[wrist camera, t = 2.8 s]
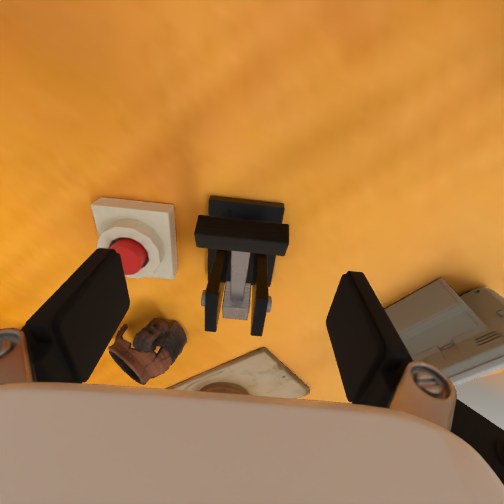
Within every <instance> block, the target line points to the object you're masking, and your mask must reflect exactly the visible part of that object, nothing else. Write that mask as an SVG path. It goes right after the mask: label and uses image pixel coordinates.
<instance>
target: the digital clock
mask: <svg viewBox="0 0 504 504" xmlns="http://www.w3.org/2000/svg"><path fill="white" fill-rule="evenodd" d="M385 311H386V313H387V315H388V317H389V318H390V320H391V322H392V324H393V325H394V327H395V329H396V331H397V333H398V334H399V336H400V338H401V340H402V341H403V343H404V345H405V347H406V349H407V350H408V352H409V354H410V356H411V357H412V359H413V361H422V362H426V363H429V364H431V365H433V366H435V367H436V368H438V369H439V370H441V371H442V372H443V373H444V374H445V375H446V376H447V377H448V378H449V379H450V380H451V382H452V383H453V384H454V387H455V386H457V385H460V384H462V383H465V382H468V381H470V380H473V379H476V378H478V377H481V376H483V375H486V374H489V373H491V372H494V371H497V370H499V369H502V368H504V298H503V297H502V296H500V295H499V294H498V293H496V292H495V291H493V290H492V289H489V288H484V287H480V288H476V289H474V290H472V291H470V292H468V293H466V294H464V295H462V296H460V297H459V296H458V295H457V294H456V292H455V291H454V290H453V289H452V288H451V287H450V286H449V285H448V284H447V283H446V282H445V281H444V279H443V278H439V279H438V280H436V281H434V282H432V283H431V284H429V285H427V286H425V287H423V288H422V289H420V290H418V291H416V292H414V293H413V294H411V295H409V296H407V297H406V298H404V299H402V300H400V301H398V302H397V303H395V304H393V305H391V306H390V307H388V308H386V309H385Z"/></svg>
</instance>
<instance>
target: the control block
mask: <svg viewBox="0 0 504 504" xmlns="http://www.w3.org/2000/svg"><path fill="white" fill-rule="evenodd" d="M91 208H92V212H93V216H94V220H95V224H96V228H97V232H98V236H99V240H98V242H97V248H108V249H110V248H111V246H112V245H113V244H114V243H115V242H116V241H117V240H119V239H122V238H130V239H133V240H136V241H137V242H139V243H140V244H141V245H142V246H143V247H144V248H145V250H146V252H147V259H146V261H145V263H144V264H143V266H142V267H141V269H140V270H139V271H138V272H137V273H135V274H133V275H125V277H130V278H140V279H141V278H144V277H153V278H163V279H174V277H175V275H176V273H177V270H178V258H177V243H176V228H175V212H174V205H172V204H163V203H153V202H144V201H134V200H125V199H116V198H106V197H101V198H99V199H98V200H96V201H95V202H94V203H92V204H91Z"/></svg>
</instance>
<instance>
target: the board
mask: <svg viewBox="0 0 504 504" xmlns="http://www.w3.org/2000/svg"><path fill="white" fill-rule="evenodd" d="M167 389H173V390H187V391H201V392H215V393H228V394H242V395H255V396H268V397H280V398H293V399H297V398H300V397H303V396H305V395H308V394H309V393H310V389H309V387H308V386H307V385H306V384H304V383H303V382H302V381H301V380H300V379H299V378H298V377H297V376H296V375H295V374H293V373H292V372H291V371H290V370H289V369H288V368H287V367H286V366H285V365H283V364H282V363H281V362H280V361H279V360H278V359H277V358H276V357H275V356H274V355H273V354H272V353H271V352H270V351H269V350H267V349H266V348H264V347H263V348H260V349H257V350H255V351H253V352H250V353H248V354H246V355H244V356H241V357H239V358H237V359H234V360H232V361H230V362H227V363H225V364H223V365H220V366H218V367H216V368H214V369H211V370H209V371H206V372H204V373H202V374H199V375H197V376H195V377H193V378H190V379H188V380H186V381H183V382H181V383H179V384H176V385H174V386H172V387H169V388H167Z"/></svg>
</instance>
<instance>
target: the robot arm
mask: <svg viewBox="0 0 504 504" xmlns="http://www.w3.org/2000/svg"><path fill="white" fill-rule="evenodd" d="M129 305H130V299H129V294H128V289H127V285H126V280H125V275H124V270H123V265H122V260H121V256H120V254H119V253H117V252H116V250H115V249H108V248H98V249H97V250H96V251H95V252H94V253H93V254H92V255H91V256H90V257H89V258H88V259H87V260H86V261H85V262H84V263H83V264H82V265H81V266H80V267H79V268H78V269H77V270H76V271H75V272H74V273H73V274H72V275H71V276H70V277H69V278H68V279H67V281H66V282H65V283H64V284H63V285H62V286H61V287H60V288H59V289H58V290H57V291H56V292H55V293H54V294H53V295H52V296H51V297H50V298H49V299H48V300H47V301H46V302H45V303H44V304H43V305H42V306H41V307H40V308H39V309H38V310H37V311H36V313H35V314H34V315H33V316H32V317H31V318H30V319H29V320H28V321H27V322H26V325H25V326H24V327H23V328H22V329H21V330H19V329H15V328H5V329H0V504H504V430H502V429H501V428H499V427H497V426H496V425H495V424H493V423H492V422H490V421H489V420H487V419H486V418H484V417H483V416H482V415H480V414H479V413H477V412H476V411H474V410H473V409H471V408H470V407H468V406H467V405H465V404H464V403H462V402H461V401H459V400H458V399H456V398H457V394H456V389H455V387H454V384H453V383H452V382H451V380H450V379H449V378H448V377H447V376H446V375H445V374H444V373H443V372H442V371H441V370H439V369H438V368H436V367H435V366H433V365H431V364H429V363H426V362H422V361H413V359H412V357H411V356H410V354H409V352H408V350H407V349H406V347H405V345H404V343H403V341H402V340H401V338H400V336H399V334H398V333H397V331H396V329H395V327H394V325H393V324H392V322H391V320H390V318H389V317H388V315H387V313H386V311H385V309H384V308H383V307H382V305H381V304H380V302H379V300H378V298H377V296H376V295H375V293H374V291H373V289H372V288H371V286H370V284H369V282H368V280H367V279H366V277H365V275H364V274H363V273H362V272H353V271H348V272H347V273H346V274H343V275H342V277H341V280H340V283H339V285H338V288H337V291H336V294H335V296H334V299H333V302H332V305H331V307H330V310H329V313H328V316H327V319H326V326H327V330H328V333H329V337H330V340H331V344H332V347H333V351H334V354H335V358H336V361H337V365H338V368H339V372H340V375H341V379H342V382H343V386H344V389H345V393H346V397H347V399H348V401H349V402H352V404H350V403H340V402H329V401H318V400H306V399H293V398H280V397H268V396H255V395H242V394H228V393H215V392H201V391H187V390H173V389H159V388H144V387H129V386H115V385H100V384H82V382H86V381H87V380H88V379H89V377H90V375H91V374H92V372H93V370H94V368H95V367H96V365H97V363H98V361H99V360H100V358H101V356H102V354H103V353H104V351H105V349H106V347H107V346H108V344H109V342H110V340H111V339H112V337H113V335H114V333H115V332H116V330H117V328H118V326H119V325H120V323H121V321H122V319H123V318H124V316H125V314H126V312H127V311H128V309H129Z"/></svg>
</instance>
